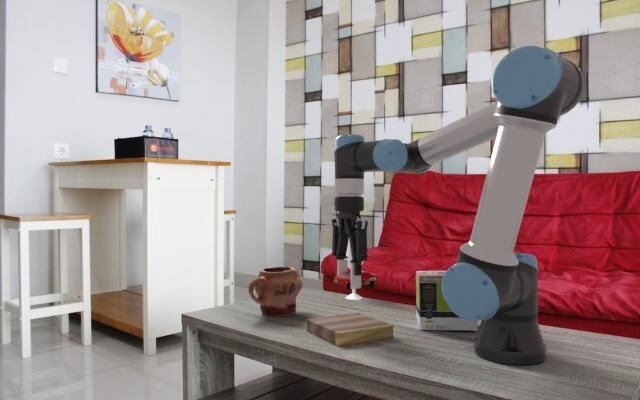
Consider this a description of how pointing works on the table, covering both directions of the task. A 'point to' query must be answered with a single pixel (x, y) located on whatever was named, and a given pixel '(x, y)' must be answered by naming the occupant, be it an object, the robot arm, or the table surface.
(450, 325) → the tea box
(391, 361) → the table surface
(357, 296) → the champagne flute
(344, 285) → the race car
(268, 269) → the terracotta clay mug
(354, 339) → the square wooden board
